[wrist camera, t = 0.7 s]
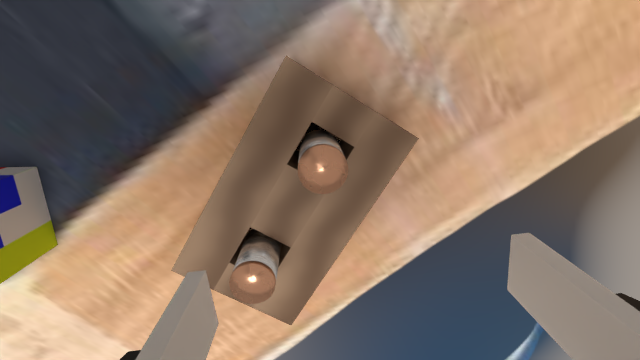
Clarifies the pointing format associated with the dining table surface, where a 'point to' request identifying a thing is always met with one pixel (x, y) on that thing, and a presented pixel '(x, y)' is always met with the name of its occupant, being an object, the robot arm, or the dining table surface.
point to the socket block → (294, 189)
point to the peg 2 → (321, 163)
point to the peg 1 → (256, 268)
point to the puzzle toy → (22, 220)
